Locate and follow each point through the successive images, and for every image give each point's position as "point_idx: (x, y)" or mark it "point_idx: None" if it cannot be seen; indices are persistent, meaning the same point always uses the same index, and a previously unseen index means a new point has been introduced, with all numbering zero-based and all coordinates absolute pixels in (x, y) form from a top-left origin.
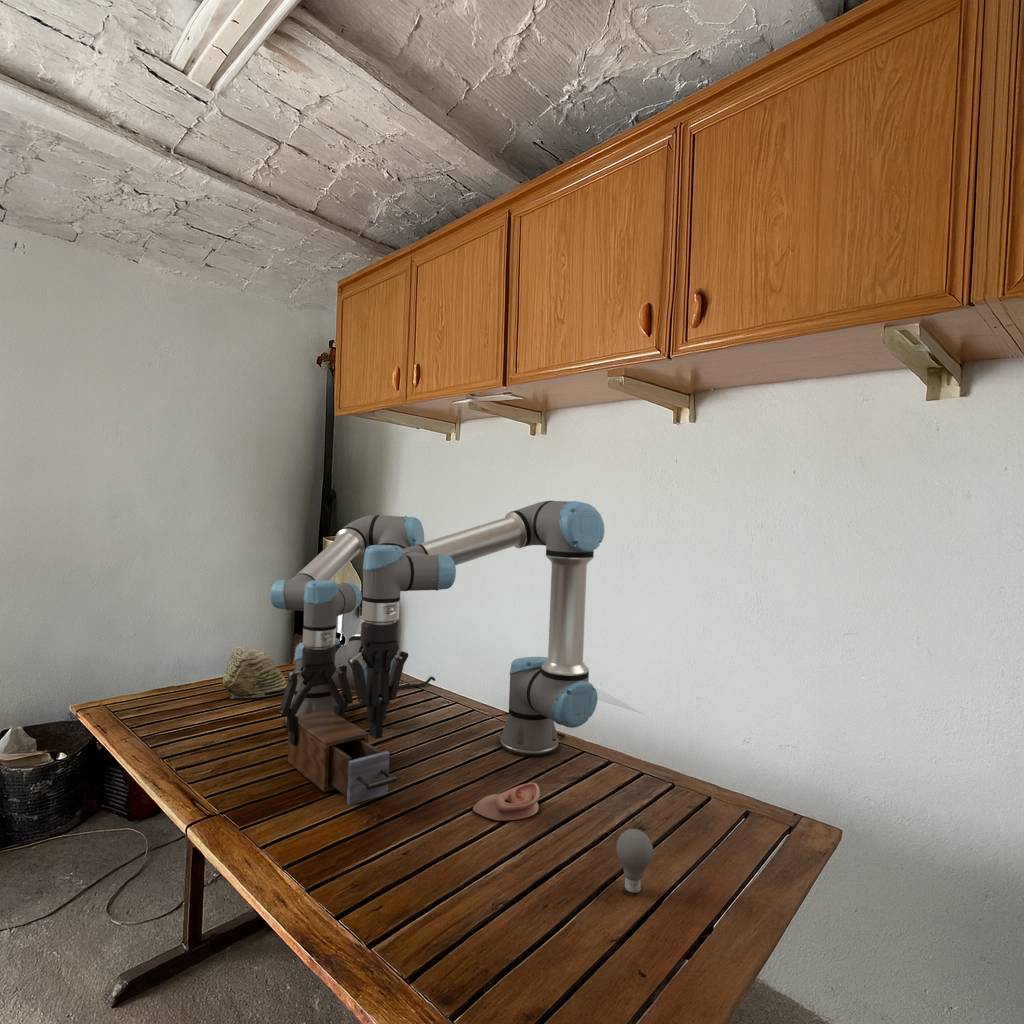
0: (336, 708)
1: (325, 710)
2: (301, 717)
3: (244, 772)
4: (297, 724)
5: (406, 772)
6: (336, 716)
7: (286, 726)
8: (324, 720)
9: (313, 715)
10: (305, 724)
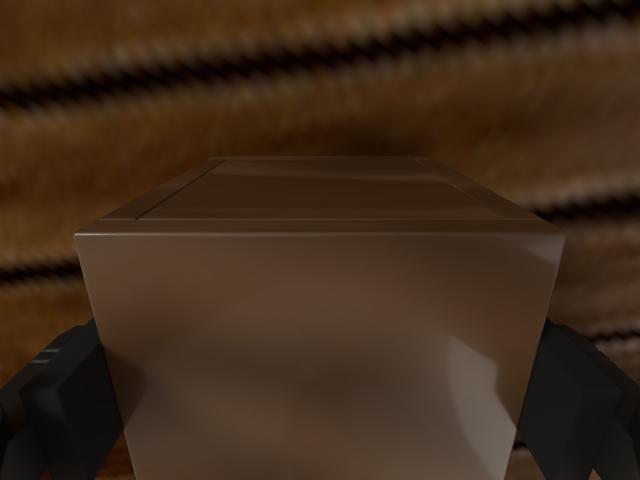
0: (560, 435)
1: (512, 248)
2: (194, 312)
3: (3, 158)
4: (120, 424)
5: (533, 469)
6: (481, 445)
7: (49, 345)
8: (345, 473)
9: (324, 322)
10: (174, 471)
